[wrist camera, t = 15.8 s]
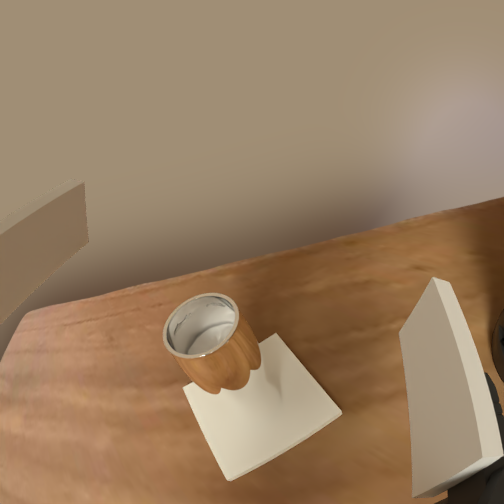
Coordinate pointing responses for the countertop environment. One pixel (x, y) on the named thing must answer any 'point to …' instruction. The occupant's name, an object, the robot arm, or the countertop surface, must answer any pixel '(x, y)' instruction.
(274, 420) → the mat
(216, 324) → the beer glass
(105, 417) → the countertop surface
